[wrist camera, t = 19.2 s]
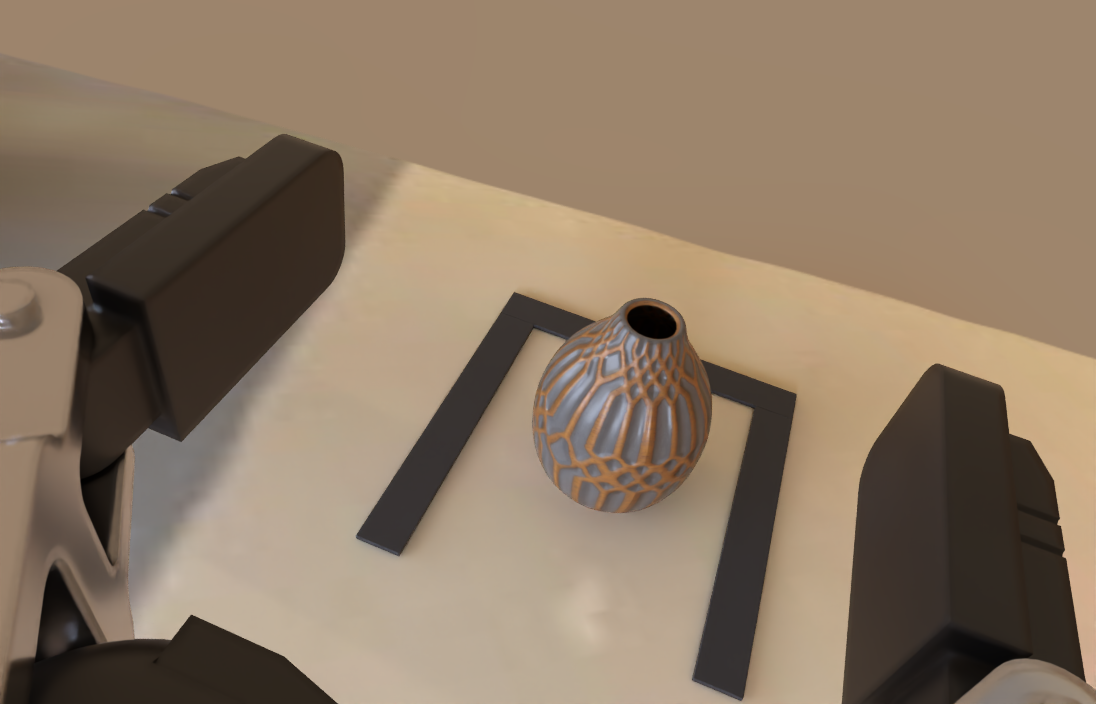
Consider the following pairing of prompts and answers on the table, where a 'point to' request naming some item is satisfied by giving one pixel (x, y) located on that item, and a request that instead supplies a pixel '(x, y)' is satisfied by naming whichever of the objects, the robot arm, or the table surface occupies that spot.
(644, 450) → the vase
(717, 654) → the tape u shape
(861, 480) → the robot arm
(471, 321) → the table surface
